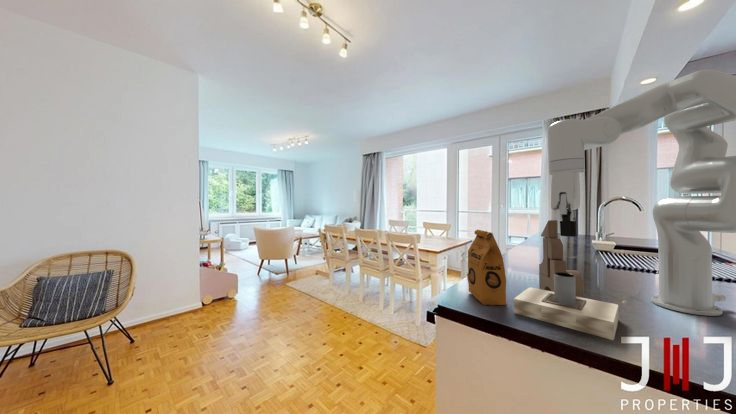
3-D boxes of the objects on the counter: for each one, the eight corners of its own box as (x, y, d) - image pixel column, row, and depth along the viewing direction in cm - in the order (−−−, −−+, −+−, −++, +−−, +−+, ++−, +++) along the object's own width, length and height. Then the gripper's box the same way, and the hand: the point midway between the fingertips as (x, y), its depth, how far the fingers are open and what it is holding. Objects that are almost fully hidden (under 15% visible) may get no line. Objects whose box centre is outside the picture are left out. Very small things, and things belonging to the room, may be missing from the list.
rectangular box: (514, 312, 70) (513, 297, 70) (529, 299, 80) (529, 286, 80) (613, 340, 55) (613, 321, 55) (618, 320, 65) (618, 303, 65)
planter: (580, 316, 65) (580, 276, 65) (563, 316, 65) (562, 277, 65) (566, 308, 70) (565, 271, 70) (550, 309, 70) (549, 272, 70)
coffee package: (477, 306, 75) (475, 233, 75) (465, 292, 88) (464, 229, 88) (511, 307, 74) (510, 232, 74) (494, 292, 87) (493, 228, 87)
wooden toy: (585, 306, 74) (584, 221, 73) (559, 305, 75) (557, 221, 75) (558, 289, 89) (557, 218, 89) (537, 288, 90) (535, 218, 90)
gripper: (555, 171, 75) (557, 232, 75) (541, 167, 65) (544, 238, 65) (589, 167, 69) (591, 234, 70) (579, 163, 59) (581, 240, 60)
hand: (568, 235), depth 67 cm, fingers closed
